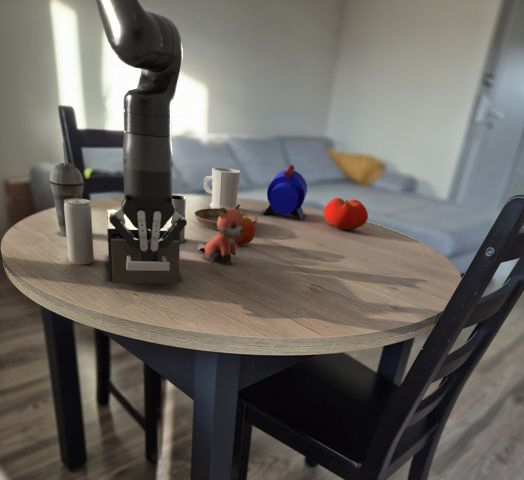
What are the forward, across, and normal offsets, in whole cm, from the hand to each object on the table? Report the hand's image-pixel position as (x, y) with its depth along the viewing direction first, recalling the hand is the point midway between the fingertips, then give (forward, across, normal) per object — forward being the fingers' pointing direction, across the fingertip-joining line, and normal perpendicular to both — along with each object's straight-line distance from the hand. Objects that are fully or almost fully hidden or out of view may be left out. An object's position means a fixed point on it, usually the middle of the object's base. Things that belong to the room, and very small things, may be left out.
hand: (148, 270), depth 83 cm
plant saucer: (+5, -25, -51) cm, 57 cm away
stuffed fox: (+5, -17, -22) cm, 28 cm away
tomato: (+5, -62, -53) cm, 82 cm away
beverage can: (+5, +12, -18) cm, 22 cm away
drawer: (+4, 0, -7) cm, 8 cm away
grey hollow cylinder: (+5, -9, -35) cm, 37 cm away
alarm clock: (+5, -48, -68) cm, 84 cm away
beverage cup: (+5, +15, -38) cm, 42 cm away
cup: (+5, -28, -72) cm, 78 cm away
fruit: (+5, -25, -33) cm, 42 cm away
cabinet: (+5, 0, -14) cm, 15 cm away
